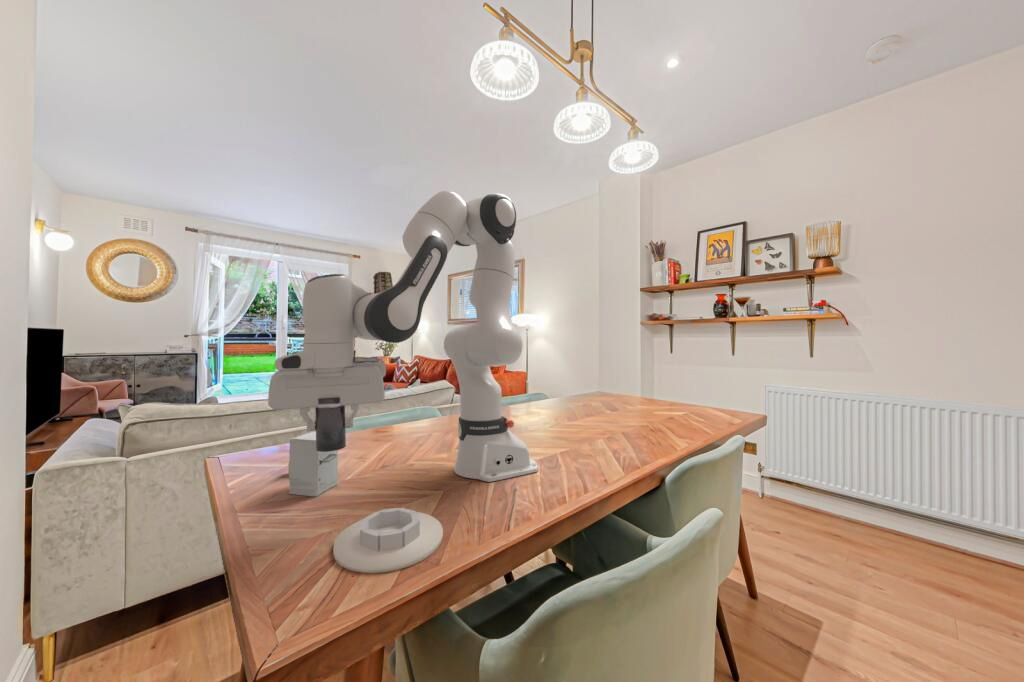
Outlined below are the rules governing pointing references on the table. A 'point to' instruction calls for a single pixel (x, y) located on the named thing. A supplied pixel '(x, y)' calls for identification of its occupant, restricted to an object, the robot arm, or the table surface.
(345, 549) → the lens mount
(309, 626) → the table surface
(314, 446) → the supplement box
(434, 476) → the table surface
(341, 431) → the lens
